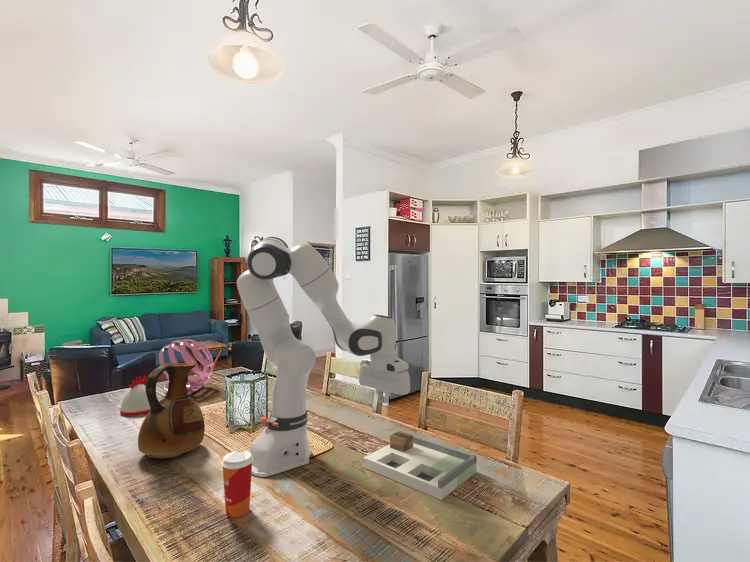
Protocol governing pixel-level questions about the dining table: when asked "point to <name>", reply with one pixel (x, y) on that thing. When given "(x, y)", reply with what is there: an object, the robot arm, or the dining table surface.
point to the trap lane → (424, 466)
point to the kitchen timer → (135, 399)
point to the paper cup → (237, 482)
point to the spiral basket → (190, 359)
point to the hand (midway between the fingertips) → (383, 402)
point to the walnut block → (401, 441)
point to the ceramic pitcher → (171, 415)
